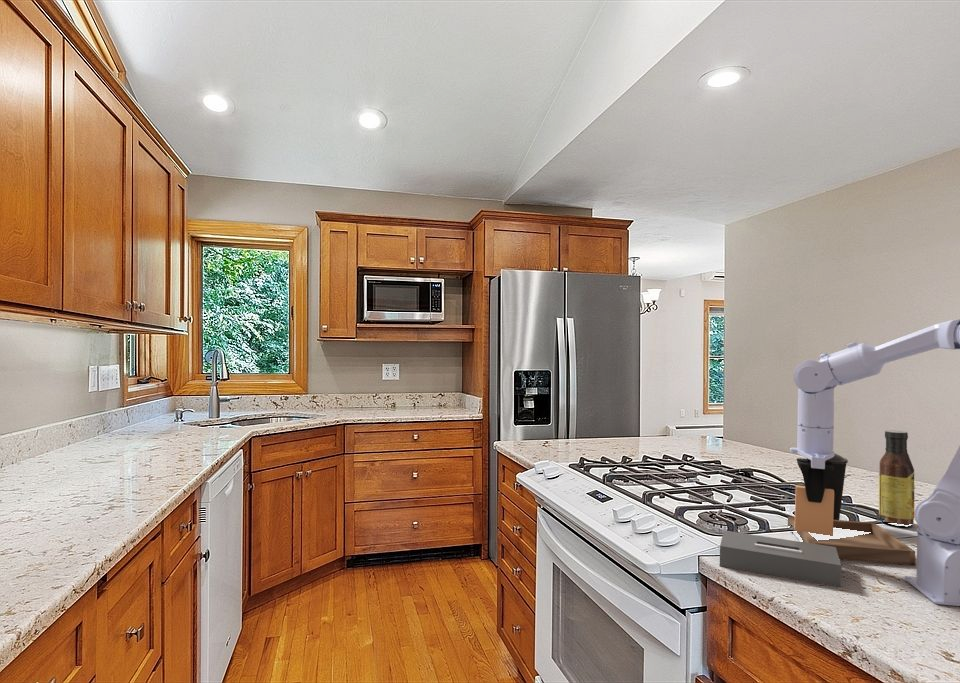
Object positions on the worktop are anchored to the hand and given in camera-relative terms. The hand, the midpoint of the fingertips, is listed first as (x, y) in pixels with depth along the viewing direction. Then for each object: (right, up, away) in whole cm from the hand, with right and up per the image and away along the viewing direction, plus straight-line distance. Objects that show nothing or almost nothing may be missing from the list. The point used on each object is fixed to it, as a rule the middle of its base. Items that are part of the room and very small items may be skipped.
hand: (814, 500), depth 107 cm
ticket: (0, -6, 0) cm, 6 cm away
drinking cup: (+15, -10, +21) cm, 27 cm away
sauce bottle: (+28, -10, +19) cm, 36 cm away
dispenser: (-9, -10, -5) cm, 15 cm away
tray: (+9, -10, +6) cm, 15 cm away
